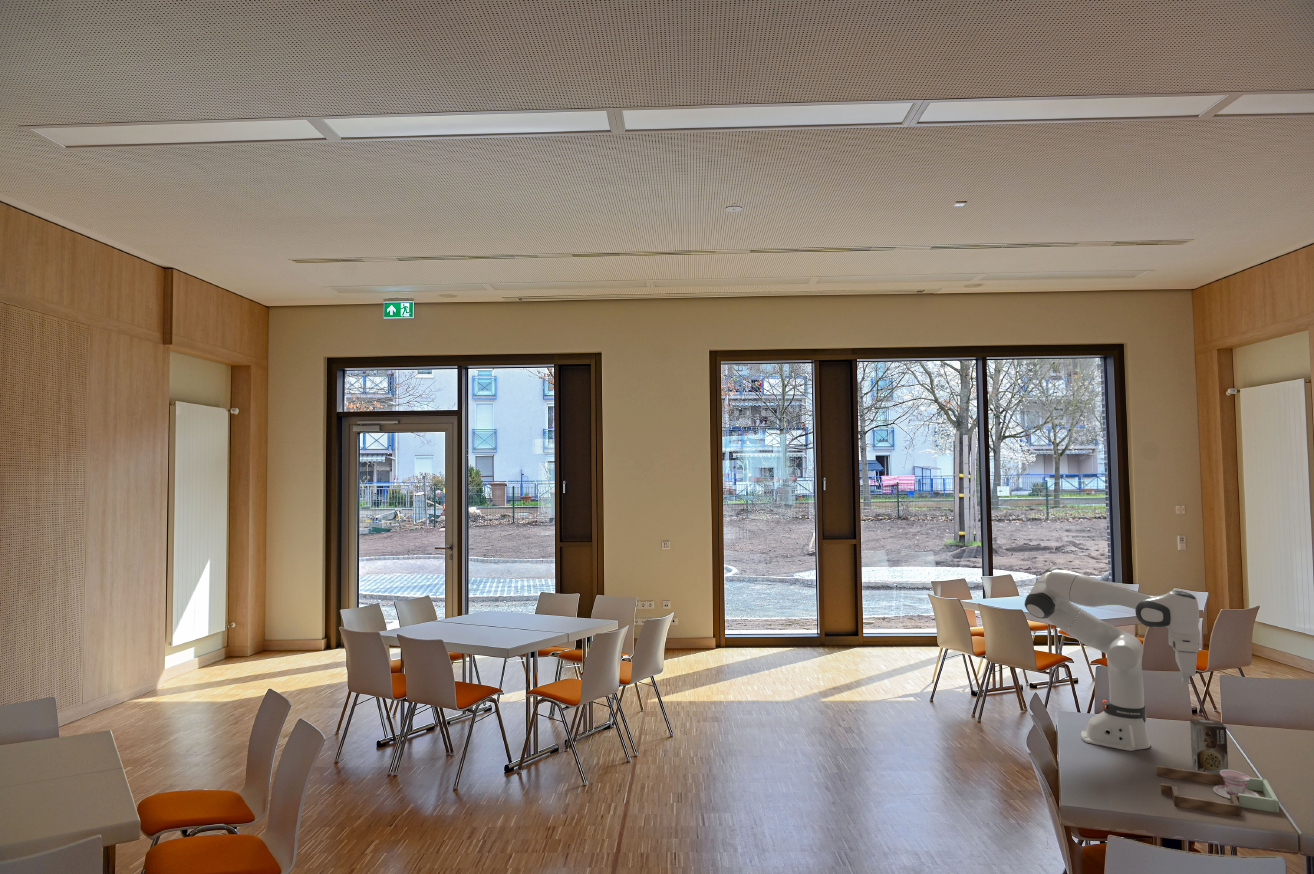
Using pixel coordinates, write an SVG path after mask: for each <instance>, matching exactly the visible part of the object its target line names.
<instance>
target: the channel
mask: <svg viewBox="0 0 1314 874" xmlns="http://www.w3.org/2000/svg"><path fill="white" fill-rule="evenodd" d="M1156 776H1158V777H1162V778H1169V779H1170V778H1171V779H1177V780H1184V781H1190V782H1197V783H1203V784H1209V785H1215V786H1218V785H1225V782H1224V780H1223V777H1222V776H1221V775H1220V774H1213V773H1206V772H1199V771H1196V770H1191V769H1186V768H1185V769H1183V768H1176V767H1171V766H1165V765H1156ZM1160 794H1161V795H1164V796H1169V797H1170V796H1171V797H1172V798H1171V799H1172V802H1173V805H1174V807H1177V808H1178V807H1180V808H1185V809H1190V810H1191V809H1192V810H1197V811H1202V812H1203V811H1204V812H1208V813H1209V812H1210V813H1216V814H1223V815H1227V816H1235V817H1241V816H1242V815H1241V810H1242V809H1241V807H1240V804H1239V795H1235V794H1229V795H1230V799H1229V800H1230V802H1223V801H1217V800H1212V799H1205V798H1199V797H1192V796H1186V795H1179V792H1178V788H1177V785H1175V784H1168V783H1163V782H1162V783H1160Z"/></svg>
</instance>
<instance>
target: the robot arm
mask: <svg viewBox="0 0 1314 874" xmlns="http://www.w3.org/2000/svg"><path fill="white" fill-rule="evenodd" d="M1078 605H1080V606H1084V607H1090V608H1091V607H1092V608H1097V607H1104V606H1121V607H1126V608H1129V609H1133V610H1135V616H1136V619H1137V620H1138V621H1139V622H1140V624H1141V625H1144V626H1145V627H1147V628H1163V627H1164V628H1167V634H1168V636H1167V637H1168V638H1167V639H1168V646H1170V647H1172V649H1173V651H1174V652H1175V654H1174V655H1175V662H1176V664H1177V667H1178V668H1179V670H1180V674H1181V682H1182V683H1183V684H1184V685H1189V684H1190V677H1195V676H1196V672H1197V663H1198V662H1197V660H1198V659H1197V658H1198V656H1197V655H1198V653H1199V652H1200V648H1201V631H1200V629H1199V623H1200V608H1199V603H1198V599H1197V597H1196V596H1195V595H1194V594H1192V593H1190V592H1187V591H1184V590H1183V591H1182V590H1170V591H1168V592H1167V593H1164V594H1157V595H1156V594H1148V593H1143V592H1140V591H1137V590H1133V589H1129V588H1124V587H1122V586H1117V585H1114V584H1112V583H1108V582H1106V581H1102V580H1100V579H1097V578H1095V577H1092V576H1090V575H1086V574H1083V573H1079V572H1077V571H1071V570H1066V569H1063V568H1061V567H1059V566H1058V567H1057V566H1050V567H1048V568H1047V569H1045V571H1043V573H1042V574H1041V575H1040V576H1039V578H1037V580H1036V581H1035V583H1034V585H1033V586H1032V588H1031V589H1030V592H1029V593H1028V594H1027V596H1026V597H1025V600H1024V608H1025V609H1026V610H1027V612H1028V613H1029V614H1031V616H1033V617H1035V618H1036V619H1037V618H1038V619H1047V620H1048V621H1049V622H1050V623H1051V624H1053V625H1054V626H1055V627H1057V628H1058V629H1060V630H1061V631H1063V632H1064V633H1066V634H1067V635H1069V636H1070V637H1072V638H1074V639H1076V641H1079V642H1080V643H1082V644H1084V646H1088V647H1091V648H1093V649H1095V650H1097V651H1099V652H1102V653H1104V654H1105V655H1106V662H1107V663H1106V664H1107V674H1108V684H1109V685H1108V687H1109V690H1108V691H1109V701H1108V700H1106V699H1103V700H1102V702H1101V704H1102V706H1103V711H1102V712H1100V713H1098V714H1096V715H1094V716H1092V717H1091V718H1090V719H1089V720H1088V723H1087V727H1086V729H1083V730H1082V731H1081V732H1080V738H1081V740H1082V741H1083V742H1085V743H1089V744H1093V745H1097V746H1098V745H1099V746H1103V747H1108V748H1114V749H1117V750H1124V751H1130V752H1132V751H1137V750H1145V749H1148V748H1150V747H1151V743H1150V739H1149V736H1148V731H1147V725H1146V722H1147V709H1146V706H1145V695H1144V694H1145V693H1144V692H1145V691H1144V688H1145V686H1144V677H1143V665H1142V663H1143V662H1142V661H1143V656H1144V646H1143V644H1142V642H1141V640H1139V638H1137V637H1136V636H1135V635H1132V634H1131V633H1128V632H1126V631H1125V630H1122V629H1120V628H1118V627H1116V626H1115V625H1113V624H1110V623H1107V622H1105V621H1104V620H1103V619H1102V620H1101V619H1099V618H1098V617H1096V616H1094V615H1093V614H1091V613H1089V612H1088V611H1086V610H1084V609H1083V608H1082V607H1079V606H1078Z"/></svg>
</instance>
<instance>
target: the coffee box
mask: <svg viewBox="0 0 1314 874" xmlns="http://www.w3.org/2000/svg"><path fill="white" fill-rule="evenodd" d="M1189 721H1190V722H1189V724H1190V746H1191V748H1190V749H1191V767H1192V768H1193V769H1194V771H1199V772H1206V773H1213V774H1220V771H1221V770H1229V757H1228V752H1229V751H1228V737H1227V734H1228V733H1227V727H1226V726H1225V724H1224V723H1223V722H1222V721H1220V720H1211V719H1209V720H1208V719H1192V718H1190V720H1189Z"/></svg>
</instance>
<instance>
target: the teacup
mask: <svg viewBox="0 0 1314 874" xmlns="http://www.w3.org/2000/svg"><path fill="white" fill-rule="evenodd" d="M1220 775H1221V776H1222V777H1223V780H1224V782H1225V785H1215V786H1213V787H1212V789H1213V792H1214V793H1215V794H1217V795H1219V796H1220V797H1223V798H1225V799H1228V800H1230V794H1235V795H1238V793H1239V794H1246V795H1252V796H1259V797H1261V796H1260V794H1258V793H1257V792H1255V791H1254V790H1249V789H1246V785H1247V784H1248V783H1247V782H1249V781H1250V779H1251V778H1250V777H1251V776H1249V775H1248V774H1246V773H1244V772H1242V771H1238V770H1234V769H1228V770H1221V771H1220Z"/></svg>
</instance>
